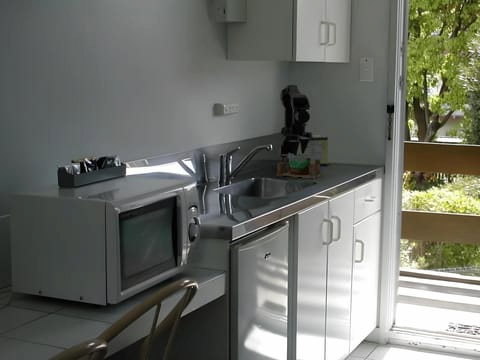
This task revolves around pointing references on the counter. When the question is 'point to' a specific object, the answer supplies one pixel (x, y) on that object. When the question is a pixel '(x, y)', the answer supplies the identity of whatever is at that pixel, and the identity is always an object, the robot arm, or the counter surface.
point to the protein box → (317, 149)
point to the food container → (299, 163)
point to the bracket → (284, 171)
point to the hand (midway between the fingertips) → (298, 154)
